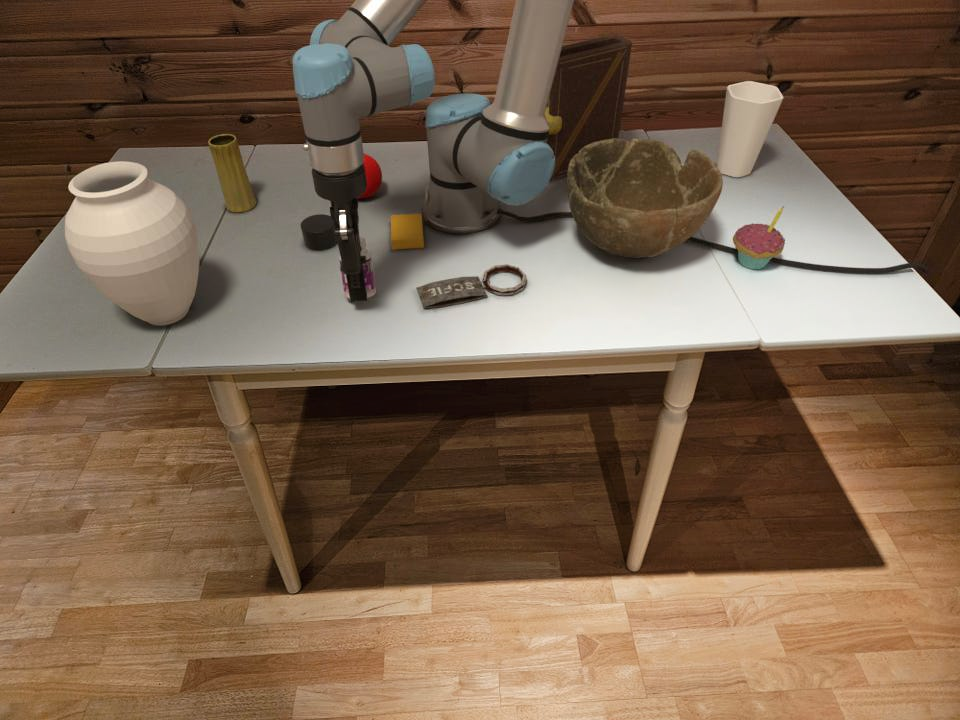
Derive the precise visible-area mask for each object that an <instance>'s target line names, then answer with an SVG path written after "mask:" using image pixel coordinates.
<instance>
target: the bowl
mask: <svg viewBox="0 0 960 720" xmlns="http://www.w3.org/2000/svg"><path fill="white" fill-rule="evenodd" d="M723 180H724V179H723V174H721V172H720V170H719V169H718V168H717V164H716V163H715V162H714V161H713V160H712V158H711V157H710V156H708V155H707V154H705V153H703V152H701V151H700V150H697V149H690V151H688V154H687V155H686V158H685V160H684V165H682V159H681V158H680V156H679V155H678V154H677V152H676V150H675V149H674V148H673V147H671V146H669V145H668V144H665V142H663V141H660V140H657V139H656V140H655V139H646V138H632V140H630V142H629V140H627V139H625V138H620V137H619V138H613V139H608V140H602V141H598V142H593V143H591V144H589V145H587V146H585V147H583V148H582V149H581V150H579V153H578V154H576V155H575V156H574V157H573V158H572V159H571V160H570V162H569V165H568V172H567V176H566V190H567V199H568V205H569V210H570V212H571V213H572V216H573V217H572V219H573V221H574V223H575V224H576V226H577V228H578V230H579V231H580V232H581V233H582V234H583V236H585V238H586V239H587V240H589V241H590V243H592V244H593V245H594V246H596V247H597V248H599V249H601V250H603V251H604V252H607V253H608V254H611V255H614V256H618V257H623V258H624V257H625V258H637V259H639V258H646V257H650V258H651V257H654V258H655V257H658V256H660V255H662V254H664V253H666V252H667V251H668V250H671V249H673V248H675V247H677V246H679V245H681V244H683V243H684V242H686V241H688V240H687V239H689V238H690V237H691V236H692V237H694V235H696V233H697V232H699V230H700V229H701V228H702V227H703V225H704V224H705V223H706V221H707V220H708V218H709V216H710V215H711V213H712V212H713V210H714V209H715V206H716V204H717V203H718V201H719V198H720V197H721V193H722V191H723V185H724V181H723Z"/></svg>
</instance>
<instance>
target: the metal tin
mask: <svg viewBox="0 0 960 720" xmlns="http://www.w3.org/2000/svg"><path fill="white" fill-rule="evenodd" d="M300 229H301V234H302V238H303V243H304V246H305V247H306V248H307V249H308V250H311V251H314V252H315V251H316V252H321V251H326V250H330V249H332V248H334V247H335V246H336V245H338V243H337V240H336V237H335V235H334V230H335V227H334V222H333V220H332V219H331V215H329V214H321V213H319V214H318V213H317V214H313V215H310V216H307V217H305V218H304V219H303V220H302V221H301V222H300Z"/></svg>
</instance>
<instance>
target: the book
mask: <svg viewBox="0 0 960 720" xmlns="http://www.w3.org/2000/svg"><path fill="white" fill-rule="evenodd" d="M632 44H633V41H632V40H630V39H629V38H626V37H624V36H621V35H616V34H611V35H604V36H601V37H597V38H592V39H588V40H584V41H580V42H575V43H570V44H566V45H562V49H561V53H560V56H559V60H558V64H557V68H556V72H555V76H554V80H553V83H552V87H551V91H550V95H549V99H548V103H547V107H546V110H545V118H546V119H547V121H548V123H549V125H550V131H549V135H548V139H547V142H546V144H548V145H549V146H550V148H551V149H552V150H553V153H554V154H553V155H554V156H555V168H554V171H553V174H552V176H551V179H550V181H549V182H548V183H550V182H554V181H556V180H559V179H562V178H563V179H564V178H565V177H566V178H567V172H568V165H569V162H570V160H571V159H572V158H573V157H574V156H575V155H576V154H578V153H579V150H581V149H582V148H583V147H585V146H587V145H589V144H591V143H593V142H598V141H602V140H608V139H613V138H619V139H620V133H621V132H620V131H621V125H622V118H623V111H624V103H625V96H626V88H627V83H628V82H627V81H628V75H629V74H628V73H629V68H630V67H629V66H630V61H631V52H632Z"/></svg>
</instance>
